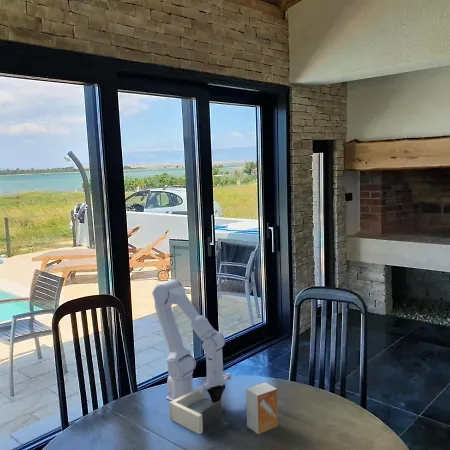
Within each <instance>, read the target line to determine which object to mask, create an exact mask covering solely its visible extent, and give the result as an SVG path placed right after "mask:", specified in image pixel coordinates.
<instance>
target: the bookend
mask: <svg viewBox="0 0 450 450" xmlns="http://www.w3.org/2000/svg"><path fill="white" fill-rule="evenodd" d="M221 406H222V400H220V401H217V402H215V403H213V404H211V405H209V406H208V407H206V408H204V409H202V410H200V414H202V424H203V433H202V434H205V435H207V436H212V435H214V434H215V433H216V432H219V431H220V430H222V429H223V428H225V427H226V426H228V425H229V423H228V422H226V421H225V420H223V415H222V413H223V411H222V408H221Z"/></svg>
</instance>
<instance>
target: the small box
mask: <svg viewBox="0 0 450 450" xmlns="http://www.w3.org/2000/svg"><path fill="white" fill-rule="evenodd" d="M245 397H246V398H245V399H246V400H245V401H246V403H245V404H246V426H247V428H248V429H250V430H252V431H253V432H254V433H256V434H257V435H260V434H263V433H265V432H268V431H271V430H273V429H276V428H278V426H279V423H278V422H279V421H278V389H277V387H275V386H273V385H271V384H269V383H268V382H266V381H265V382H262V383H259V384H256V385H253V386H251V387H247V388H246V389H245Z"/></svg>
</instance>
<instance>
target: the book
mask: <svg viewBox="0 0 450 450" xmlns="http://www.w3.org/2000/svg"><path fill="white" fill-rule="evenodd" d="M211 404H213V402H212V400H209V399H207V398H206V397H205V398H204V399H202V400H200V401H198V402H196V403H194V404H192V405H190V406H187V408H189V409H191V410H193V411H195V412H197V413H200V410H202V409H204V408H206V407H208V406H209V405H211ZM222 408H223V406H222V405H221V409H222Z"/></svg>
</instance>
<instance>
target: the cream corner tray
mask: <svg viewBox="0 0 450 450" xmlns="http://www.w3.org/2000/svg"><path fill="white" fill-rule="evenodd" d="M204 398H205V399H206V391H204V393H200V392H199V391H198V387H197V388H196V389H193V391H191V392H189V393H187V394H185V395H183V396H181V397H179V398H177V399H175V400H173V401H171V400H170V401H169V402H168V403H169V404H168V406H169V420H171V421H173V422H174V423H177V424H179V425H180V426H183V427H184V428H186V429H188V430H190V431H192V432H194V433H196V434H197V435H201V434H204V433H203V424H202V414H200V413H197V412H195V411H193V410H191V409H189V408H187V406H190V405H192V404H194V403H196V402H198V401H200V400H202V399H204Z"/></svg>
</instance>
